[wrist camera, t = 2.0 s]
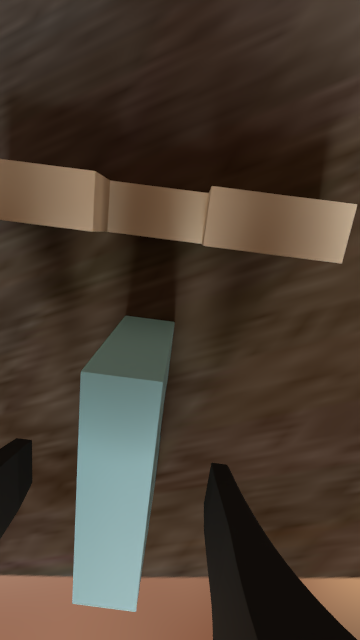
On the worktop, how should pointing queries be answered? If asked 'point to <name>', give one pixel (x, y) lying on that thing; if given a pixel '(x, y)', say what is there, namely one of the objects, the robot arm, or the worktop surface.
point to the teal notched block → (118, 460)
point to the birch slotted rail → (175, 212)
